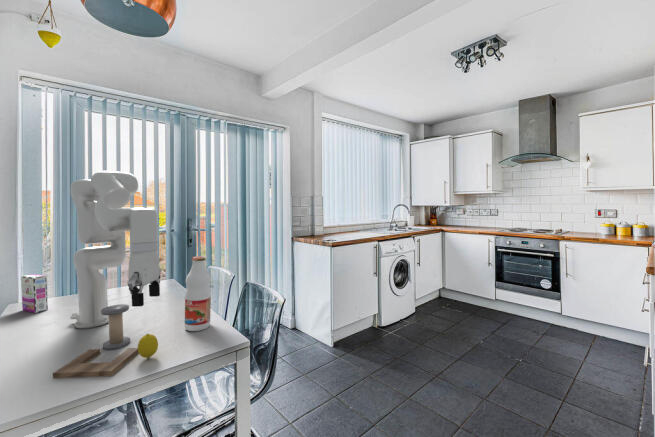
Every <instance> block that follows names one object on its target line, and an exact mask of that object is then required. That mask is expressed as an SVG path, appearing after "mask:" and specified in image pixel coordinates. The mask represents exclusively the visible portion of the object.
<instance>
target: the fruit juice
mask: <svg viewBox="0 0 655 437" xmlns="http://www.w3.org/2000/svg"><path fill="white" fill-rule="evenodd" d="M191 262H192V265H191V268H190V271H189V272H188V274H187V276H186V277H185V284H186V290H185V293H184V329H185V331H186V330H187V331H189V332H199V331H204V330H206V329H208V328H209V327H210V325H211V302H212V301H211V300H212V294H211V291H212V290H211V288H210V284H211V280H212V278H211V275H210V273H209V271H208V270H207V268H206V264H205V263H206V256H199V255H198V256H193V257H191Z"/></svg>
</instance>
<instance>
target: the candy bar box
mask: <svg viewBox="0 0 655 437" xmlns="http://www.w3.org/2000/svg"><path fill="white" fill-rule="evenodd" d="M20 281H21V282H20V284H21V286H20V287H21V303H22V311H23V312H29V313H33V314H38V313H42V312H45V311H48V310H49V307H48V285H47V284H48V283H47V275H42V274H34V273H33V274H26V275H21V276H20Z"/></svg>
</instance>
